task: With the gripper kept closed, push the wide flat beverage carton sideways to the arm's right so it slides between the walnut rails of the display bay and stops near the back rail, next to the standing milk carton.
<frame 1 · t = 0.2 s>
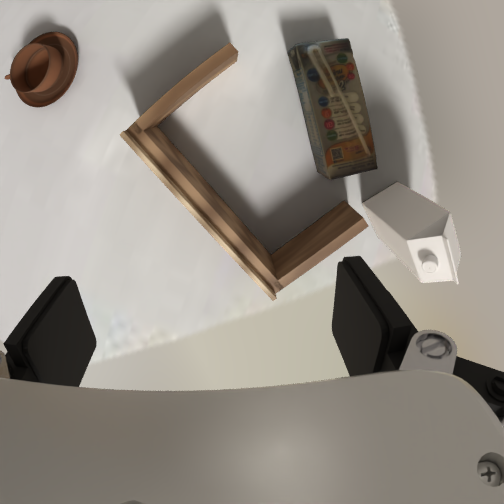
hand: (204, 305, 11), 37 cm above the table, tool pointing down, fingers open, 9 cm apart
cup and saucer: (50, 69, 36), on the table
display bay: (257, 160, 45), on the table
milk carton: (386, 209, 50), on the table
beverage carton: (326, 107, 43), on the table
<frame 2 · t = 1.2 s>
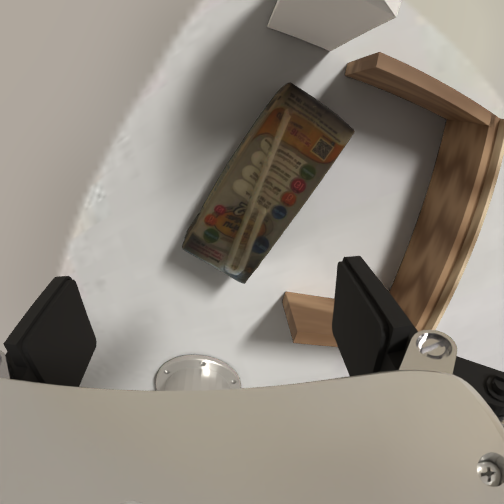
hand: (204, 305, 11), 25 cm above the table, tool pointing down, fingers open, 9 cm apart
display bay: (369, 202, 36), on the table
milk carton: (308, 13, 27), on the table
beverage carton: (261, 176, 34), on the table
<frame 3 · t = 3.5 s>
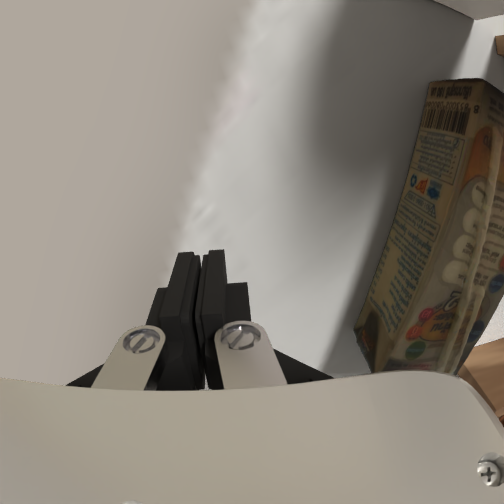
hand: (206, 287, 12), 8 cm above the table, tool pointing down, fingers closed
beverage carton: (432, 223, 20), on the table
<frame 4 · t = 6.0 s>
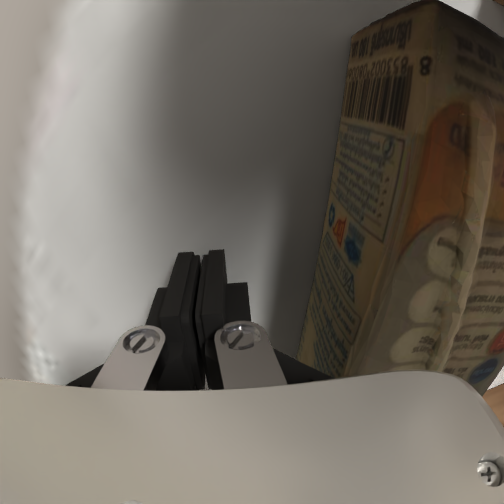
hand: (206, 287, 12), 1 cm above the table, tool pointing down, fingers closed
beverage carton: (387, 263, 14), on the table
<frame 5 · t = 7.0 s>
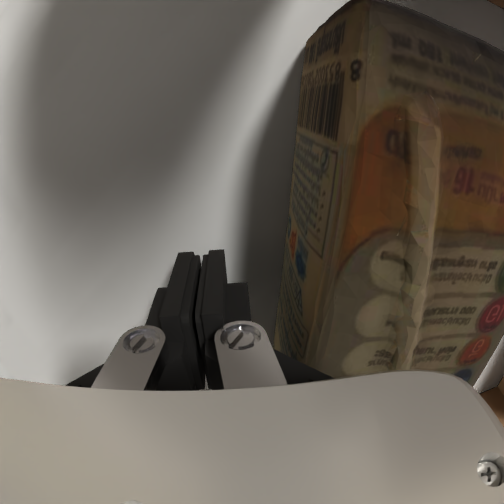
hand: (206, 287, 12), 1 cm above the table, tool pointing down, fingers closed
display bay: (492, 252, 14), on the table
beverage carton: (360, 270, 14), on the table, touching gripper
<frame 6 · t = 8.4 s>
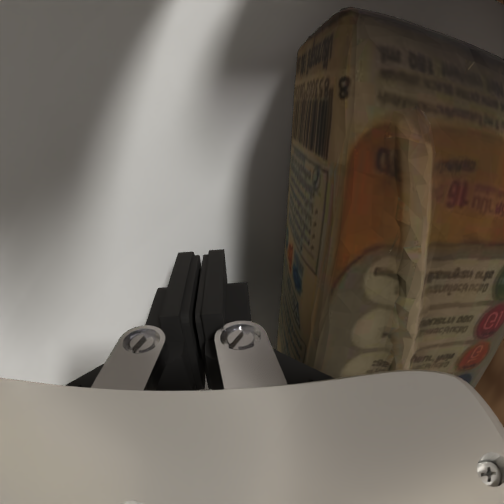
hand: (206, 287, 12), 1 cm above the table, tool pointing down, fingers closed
display bay: (439, 253, 13), on the table
beverage carton: (360, 275, 14), on the table
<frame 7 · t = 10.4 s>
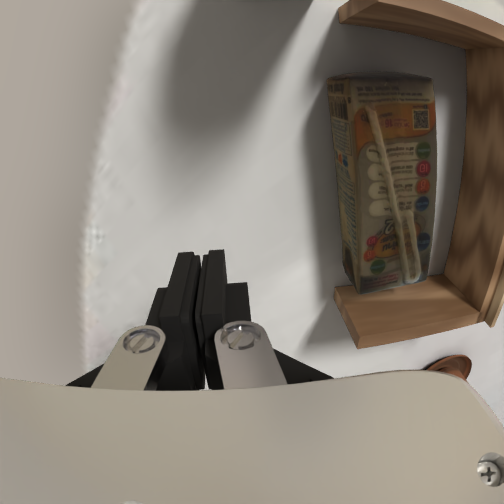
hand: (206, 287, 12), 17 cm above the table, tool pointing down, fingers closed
cup and saucer: (436, 374, 44), on the table
display bay: (406, 164, 28), on the table
beverage carton: (370, 173, 29), on the table
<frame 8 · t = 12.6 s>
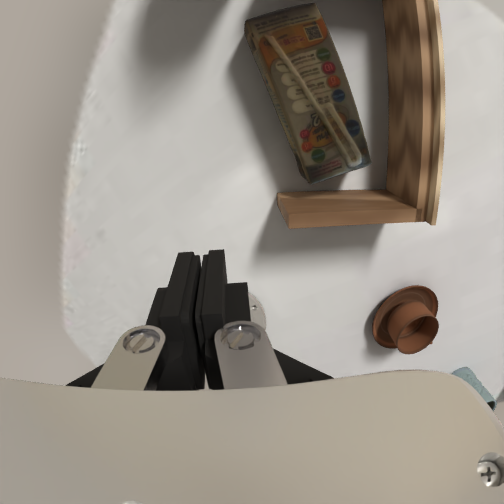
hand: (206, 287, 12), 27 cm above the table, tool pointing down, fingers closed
drinking glass: (454, 379, 59), on the table
cup and saucer: (401, 311, 48), on the table
display bay: (331, 84, 33), on the table
beverage carton: (302, 92, 34), on the table
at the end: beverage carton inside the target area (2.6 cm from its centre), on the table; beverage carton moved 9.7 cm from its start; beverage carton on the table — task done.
